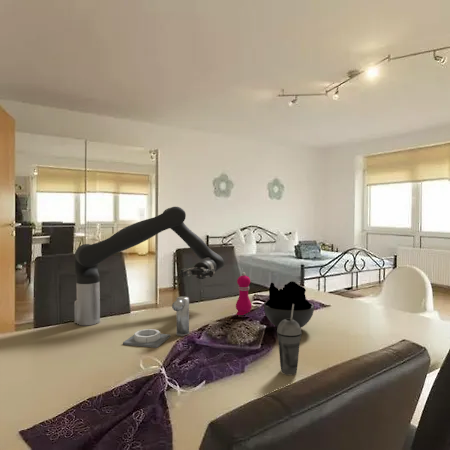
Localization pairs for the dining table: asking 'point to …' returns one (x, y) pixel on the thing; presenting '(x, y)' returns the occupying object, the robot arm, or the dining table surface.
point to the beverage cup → (289, 344)
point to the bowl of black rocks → (288, 304)
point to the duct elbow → (182, 315)
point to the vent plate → (157, 343)
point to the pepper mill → (243, 295)
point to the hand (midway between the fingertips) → (192, 275)
